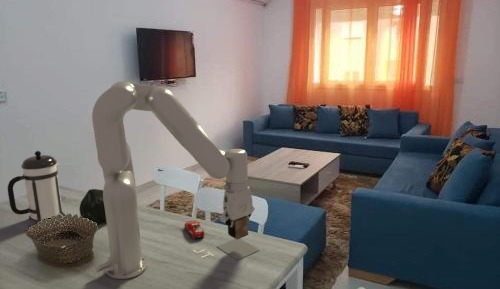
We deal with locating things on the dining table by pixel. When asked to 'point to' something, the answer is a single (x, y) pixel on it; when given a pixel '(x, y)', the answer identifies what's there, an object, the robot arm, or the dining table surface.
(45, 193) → the coffee press
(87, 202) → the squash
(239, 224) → the walnut block
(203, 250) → the card
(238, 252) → the pad
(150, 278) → the dining table surface
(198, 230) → the race car
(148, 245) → the dining table surface
